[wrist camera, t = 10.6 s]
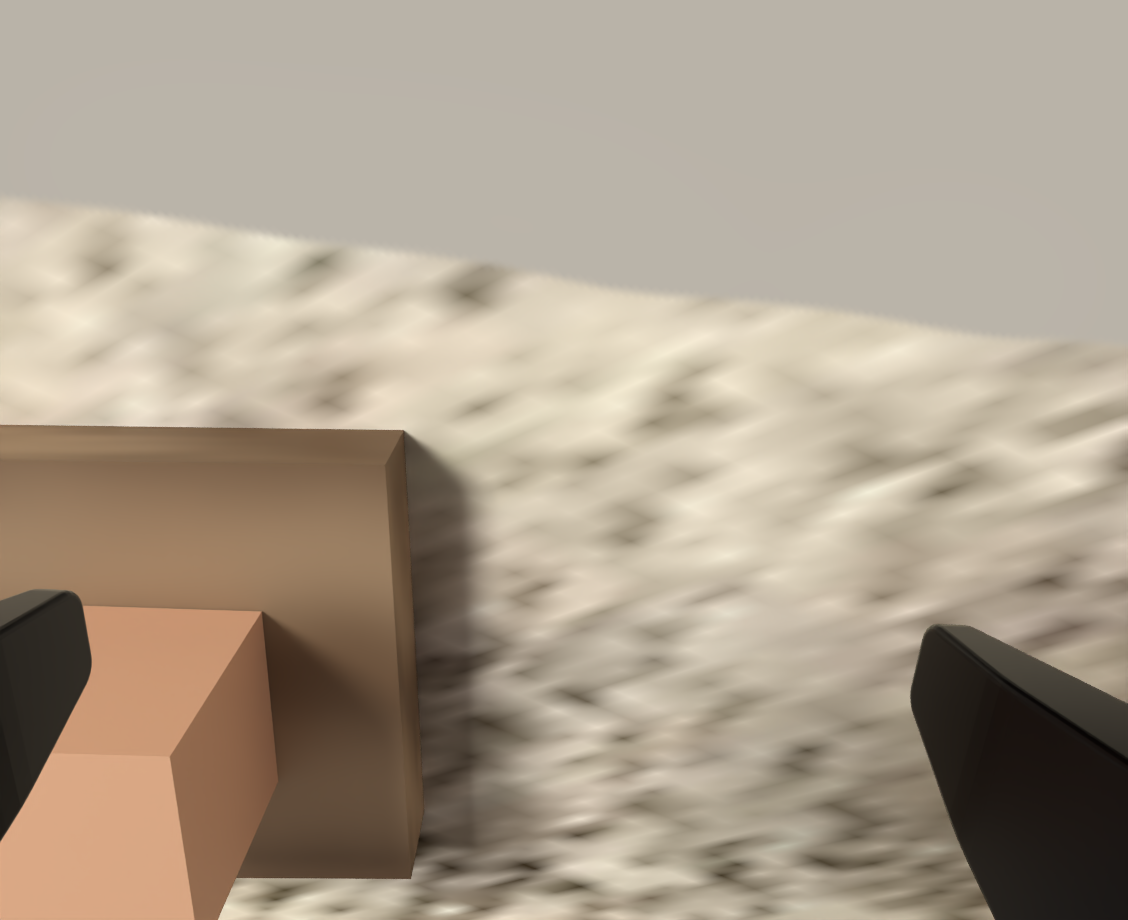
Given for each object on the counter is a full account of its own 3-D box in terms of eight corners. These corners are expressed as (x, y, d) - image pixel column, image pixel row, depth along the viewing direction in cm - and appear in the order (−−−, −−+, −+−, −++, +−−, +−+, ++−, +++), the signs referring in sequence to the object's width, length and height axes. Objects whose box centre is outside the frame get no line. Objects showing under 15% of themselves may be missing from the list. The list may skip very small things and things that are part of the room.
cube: (278, 781, 21) (200, 958, 17) (81, 775, 21) (-53, 952, 17) (261, 611, 20) (170, 756, 15) (46, 604, 20) (-113, 748, 15)
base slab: (426, 798, 26) (410, 878, 23) (29, 795, 25) (-37, 876, 23) (407, 423, 21) (385, 464, 18) (-70, 417, 21) (-165, 458, 18)
